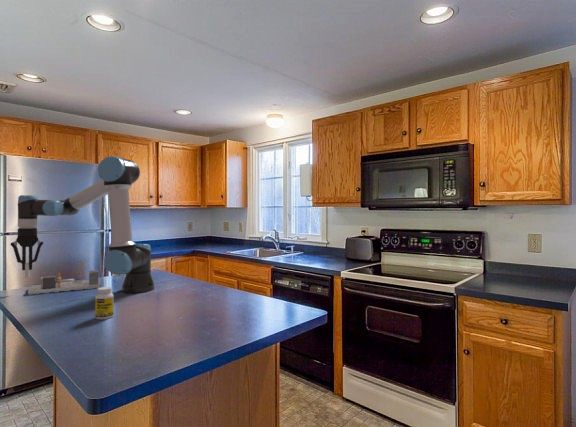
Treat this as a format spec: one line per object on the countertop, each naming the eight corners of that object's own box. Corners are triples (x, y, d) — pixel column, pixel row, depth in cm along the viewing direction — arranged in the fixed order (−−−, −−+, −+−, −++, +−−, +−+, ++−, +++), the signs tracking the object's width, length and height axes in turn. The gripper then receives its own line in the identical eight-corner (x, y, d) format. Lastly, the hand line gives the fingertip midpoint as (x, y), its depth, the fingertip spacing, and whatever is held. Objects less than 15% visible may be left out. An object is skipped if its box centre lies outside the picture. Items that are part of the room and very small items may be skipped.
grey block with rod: (74, 281, 185) (74, 272, 185) (74, 285, 177) (74, 275, 177) (42, 284, 178) (42, 274, 178) (40, 288, 170) (40, 278, 169)
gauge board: (98, 283, 192) (98, 268, 192) (100, 287, 181) (100, 272, 181) (30, 289, 176) (30, 273, 176) (28, 295, 165) (28, 278, 165)
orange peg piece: (61, 282, 183) (61, 272, 183) (61, 283, 180) (61, 273, 180) (57, 282, 182) (57, 272, 182) (57, 283, 179) (57, 273, 179)
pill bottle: (94, 320, 129) (94, 290, 129) (95, 316, 134) (95, 287, 134) (113, 318, 132) (113, 289, 131) (113, 314, 137) (113, 285, 137)
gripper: (44, 227, 175) (44, 274, 175) (11, 227, 168) (11, 276, 169) (43, 227, 169) (43, 277, 169) (9, 228, 162) (8, 279, 162)
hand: (27, 276), depth 169 cm, fingers closed
